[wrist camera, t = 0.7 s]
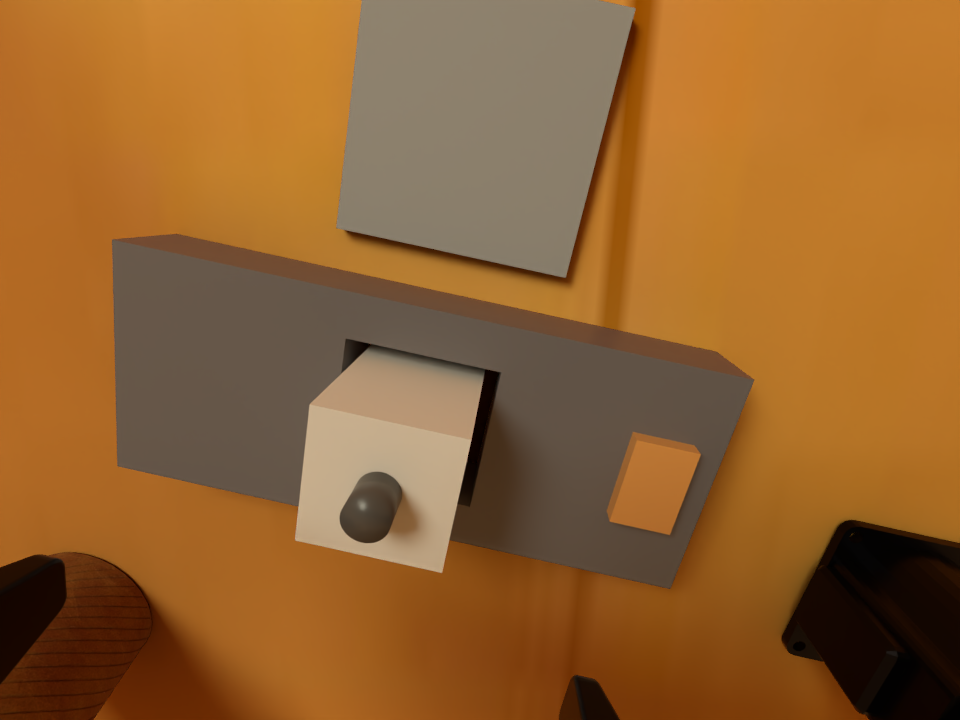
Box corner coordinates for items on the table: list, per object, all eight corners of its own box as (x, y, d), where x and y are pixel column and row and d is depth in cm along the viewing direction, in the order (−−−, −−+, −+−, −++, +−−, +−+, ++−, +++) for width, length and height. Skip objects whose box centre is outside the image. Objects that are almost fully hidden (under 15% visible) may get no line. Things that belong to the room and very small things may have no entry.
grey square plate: (631, 15, 15) (635, 8, 15) (563, 275, 18) (565, 277, 17) (373, -40, 15) (367, -50, 15) (342, 227, 18) (336, 227, 17)
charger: (488, 355, 19) (466, 464, 11) (467, 449, 20) (434, 608, 12) (383, 332, 19) (287, 425, 11) (369, 427, 20) (273, 572, 12)
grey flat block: (716, 351, 18) (763, 386, 15) (648, 534, 20) (675, 601, 17) (176, 233, 18) (96, 241, 15) (173, 429, 21) (104, 474, 17)
